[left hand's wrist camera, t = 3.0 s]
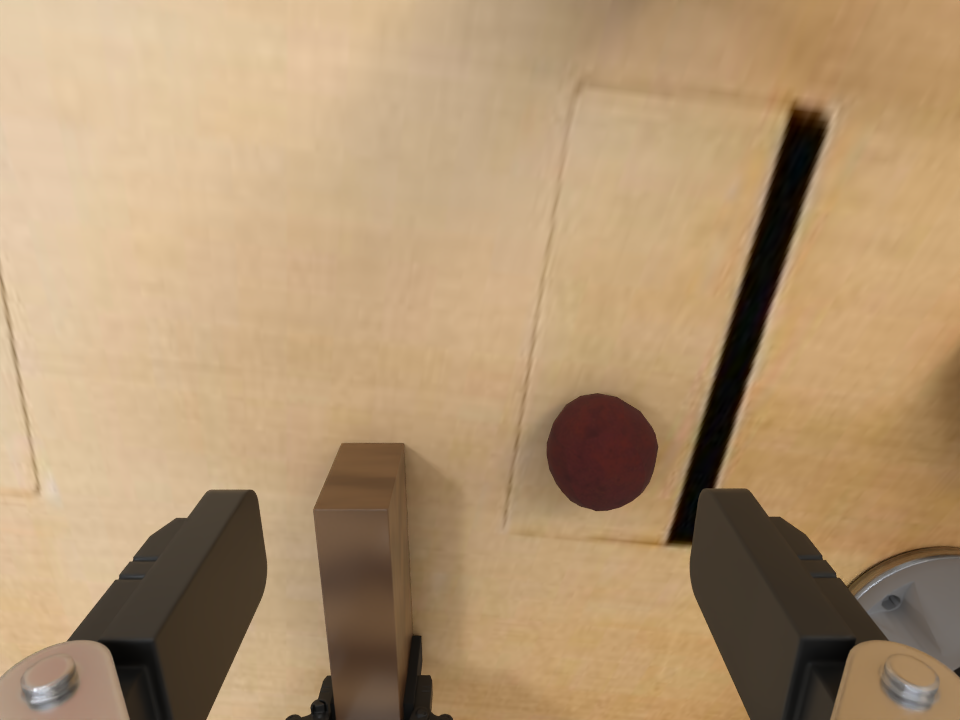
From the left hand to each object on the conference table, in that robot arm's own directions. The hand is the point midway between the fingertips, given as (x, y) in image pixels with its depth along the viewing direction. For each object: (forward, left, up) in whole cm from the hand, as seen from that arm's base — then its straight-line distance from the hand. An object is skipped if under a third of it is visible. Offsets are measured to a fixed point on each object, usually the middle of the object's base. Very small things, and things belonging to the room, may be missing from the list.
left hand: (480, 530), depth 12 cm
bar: (+14, +23, -32) cm, 42 cm away
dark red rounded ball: (-4, +15, -32) cm, 35 cm away
